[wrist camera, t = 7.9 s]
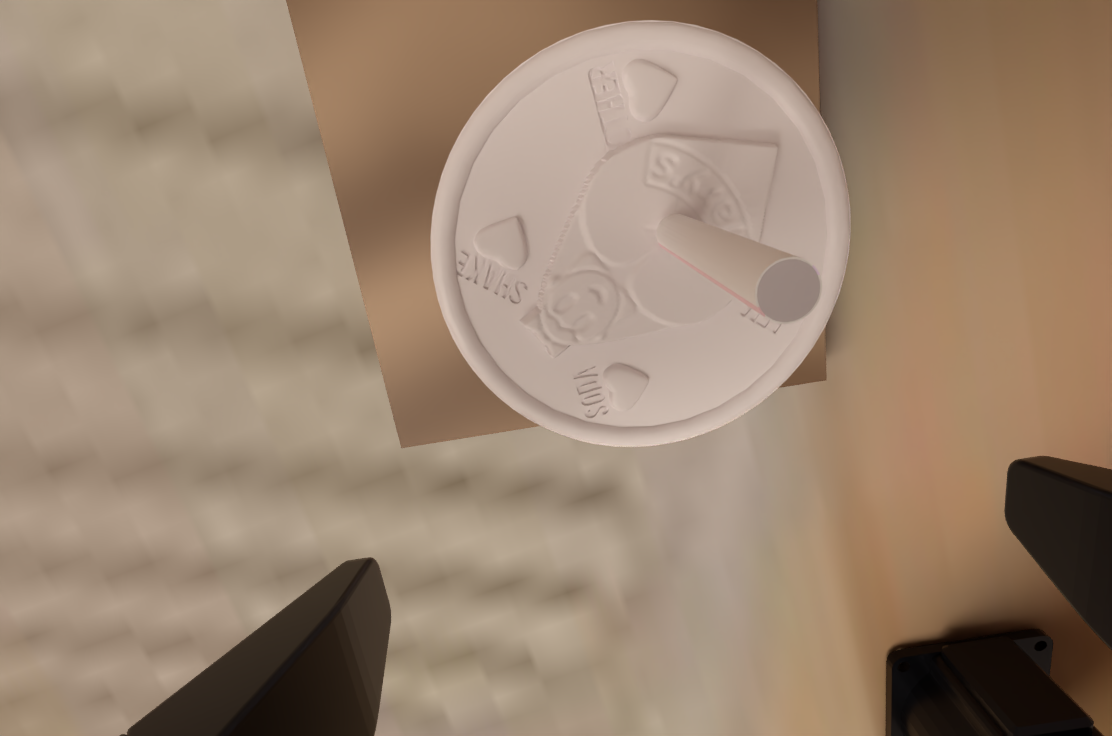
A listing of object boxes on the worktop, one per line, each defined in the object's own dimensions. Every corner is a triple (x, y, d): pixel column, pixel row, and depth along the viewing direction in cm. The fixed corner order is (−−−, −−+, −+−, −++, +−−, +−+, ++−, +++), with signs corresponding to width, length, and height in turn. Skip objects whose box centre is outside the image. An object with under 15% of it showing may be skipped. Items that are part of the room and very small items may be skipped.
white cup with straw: (737, 222, 19) (1237, 374, 6) (571, 355, 20) (654, 750, 7) (604, 36, 17) (866, -388, 4) (430, 193, 18) (164, 288, 5)
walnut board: (807, 365, 22) (826, 380, 20) (409, 429, 22) (401, 448, 21) (791, -107, 18) (814, -132, 16) (296, -23, 18) (275, -40, 16)
